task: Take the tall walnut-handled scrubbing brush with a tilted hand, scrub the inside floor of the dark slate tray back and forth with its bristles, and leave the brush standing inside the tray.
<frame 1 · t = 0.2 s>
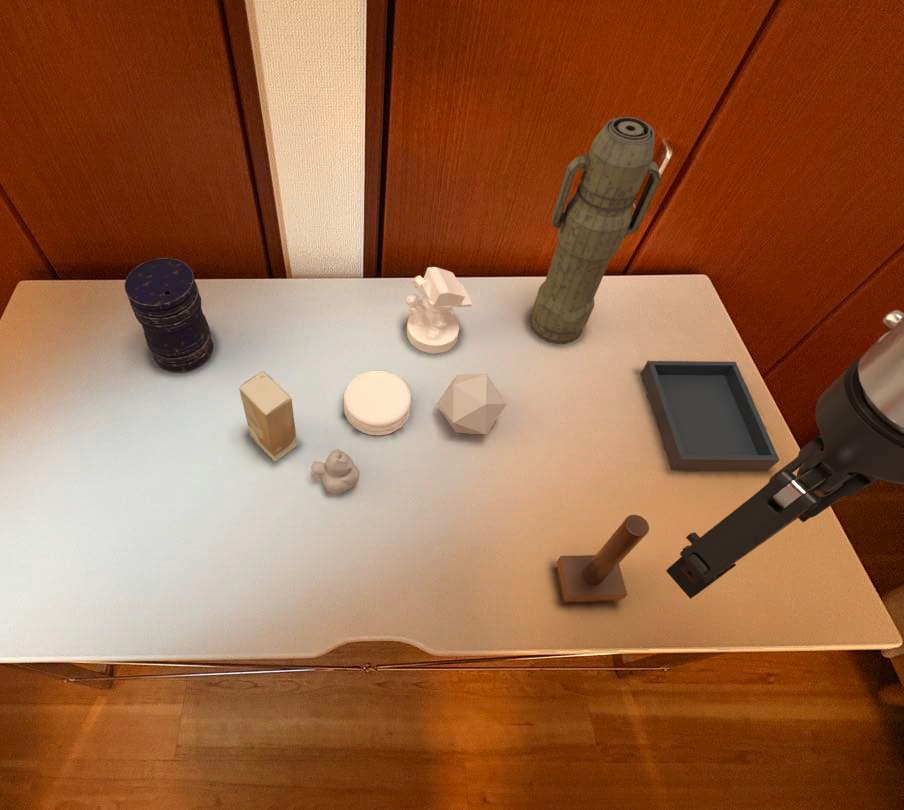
hand: (738, 544, 52), 27 cm above the table, tool pointing down, fingers open, 13 cm apart
dark blue cylinder: (183, 350, 100), on the table
thermos: (555, 325, 103), on the table
cosmetic box: (274, 441, 90), on the table
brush: (584, 584, 77), on the table
tray: (700, 419, 92), on the table
character figurine: (434, 333, 102), on the table
coaster: (377, 409, 93), on the table
rubber duck: (335, 481, 86), on the table
die: (466, 420, 92), on the table
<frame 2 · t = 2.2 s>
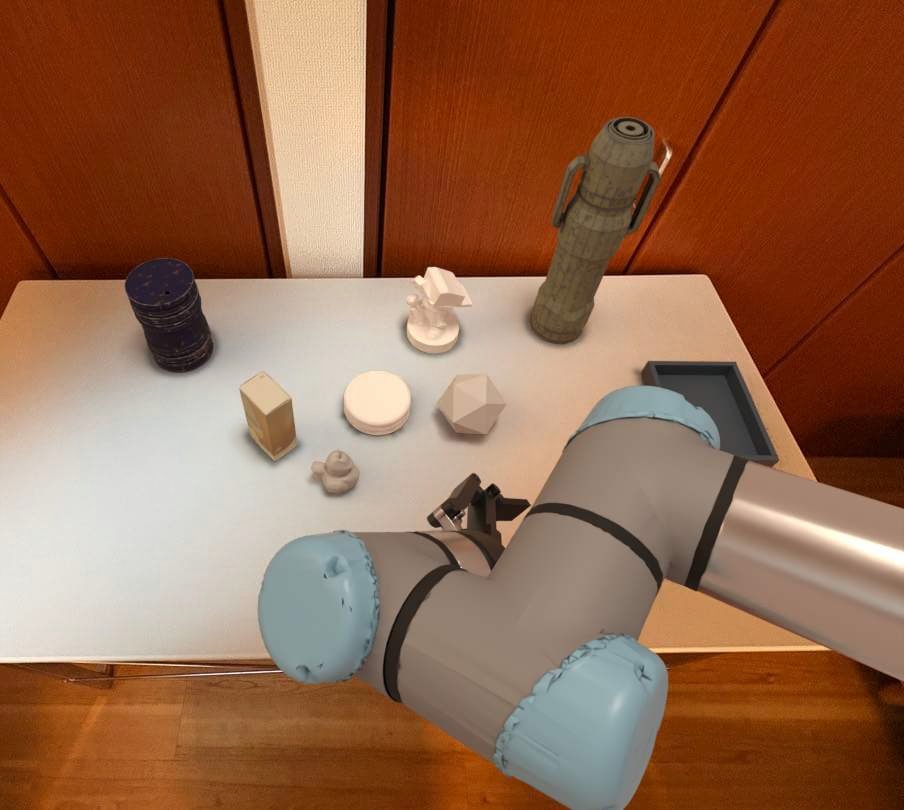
hand: (560, 567, 59), 19 cm above the table, tool tilted 45°, fingers open, 13 cm apart
nothing on the table moved.
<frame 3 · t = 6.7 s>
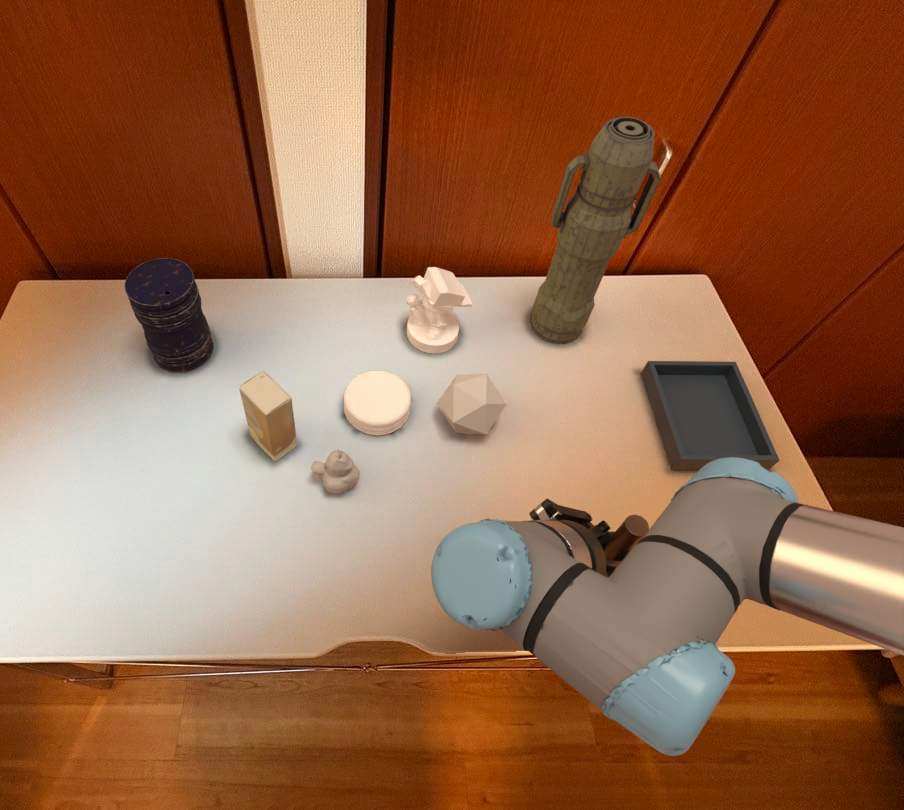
hand: (626, 550, 73), 7 cm above the table, tool tilted 45°, fingers closed on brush, 2 cm apart
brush: (584, 584, 77), on the table, touching gripper
everything else where it was.
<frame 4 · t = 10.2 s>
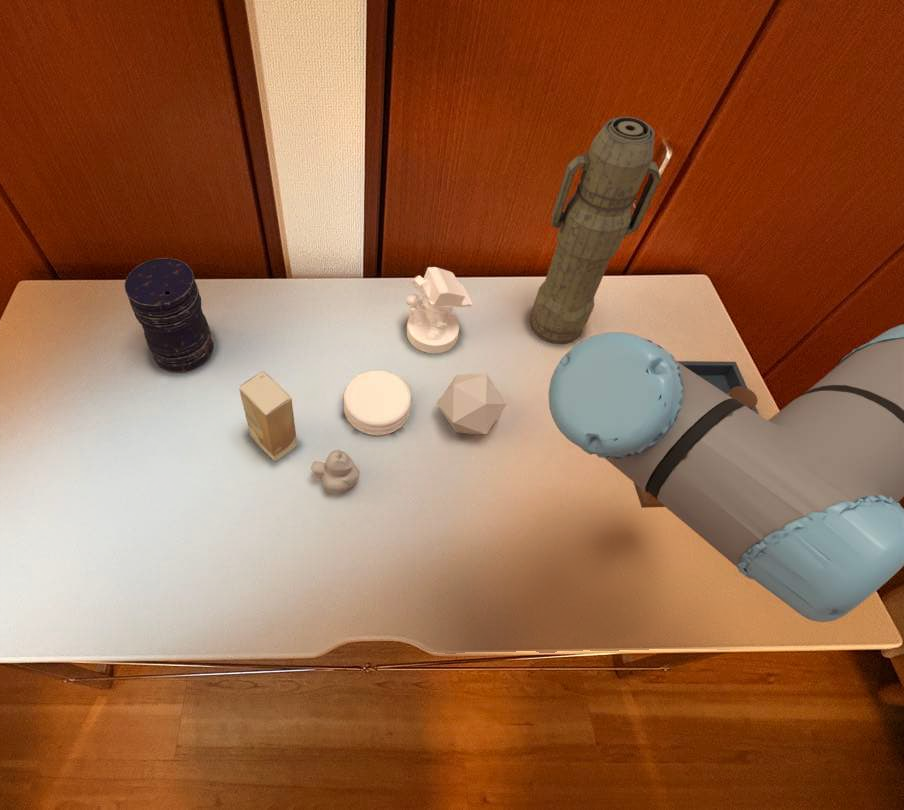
hand: (715, 445, 66), 20 cm above the table, tool tilted 45°, fingers closed on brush, 2 cm apart
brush: (663, 489, 70), point 13 cm above the table, touching gripper
everything else where it was.
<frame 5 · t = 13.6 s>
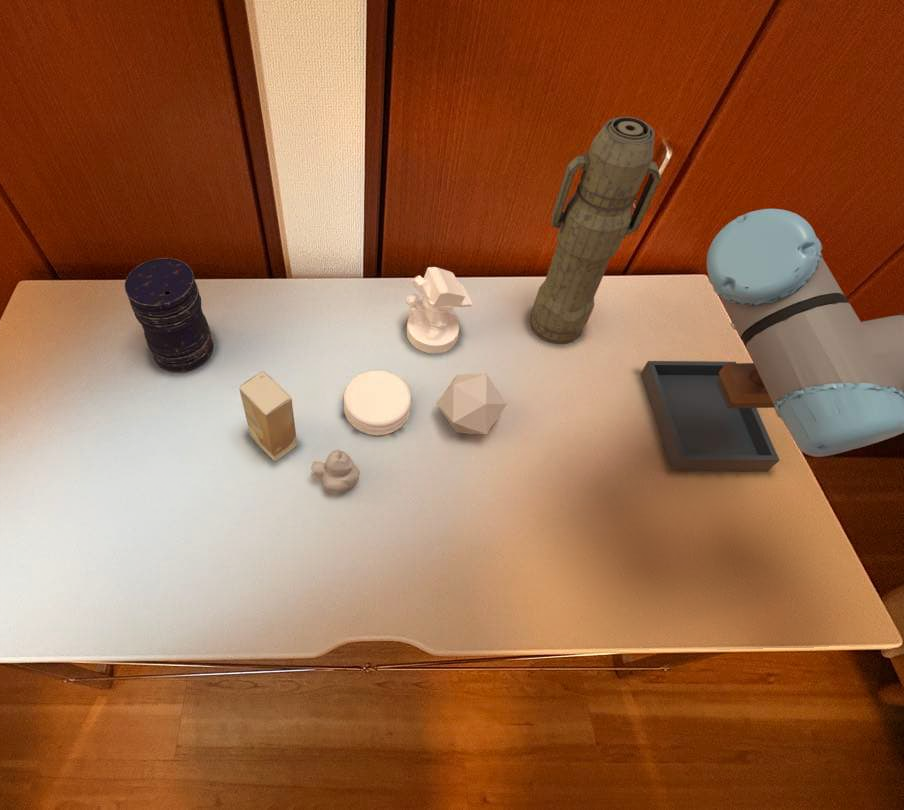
hand: (794, 351, 77), 17 cm above the table, tool tilted 45°, fingers closed on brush, 2 cm apart
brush: (745, 394, 82), point 11 cm above the table, touching gripper
everything else where it was.
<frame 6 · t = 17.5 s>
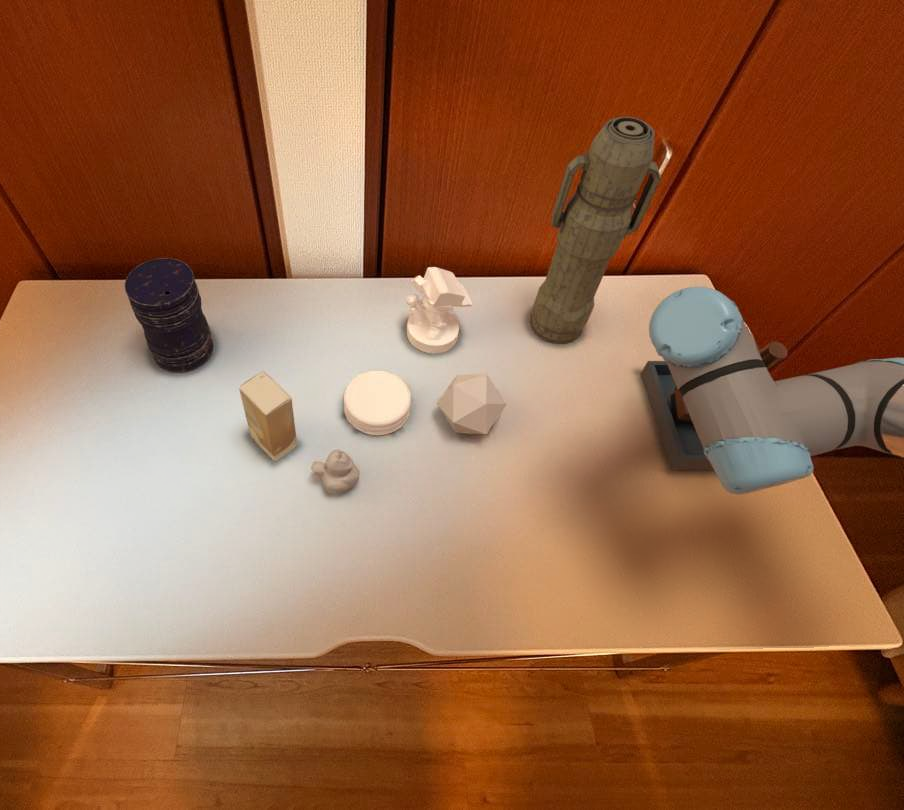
hand: (744, 384, 86), 8 cm above the table, tool tilted 45°, fingers closed on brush, 3 cm apart
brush: (692, 411, 91), point 1 cm above the table, tilted 11°, touching gripper, tray
everything else where it was.
when the fingers open (7 cm above the table, at t = 20.8 s): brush stays where it is, resting on tray.
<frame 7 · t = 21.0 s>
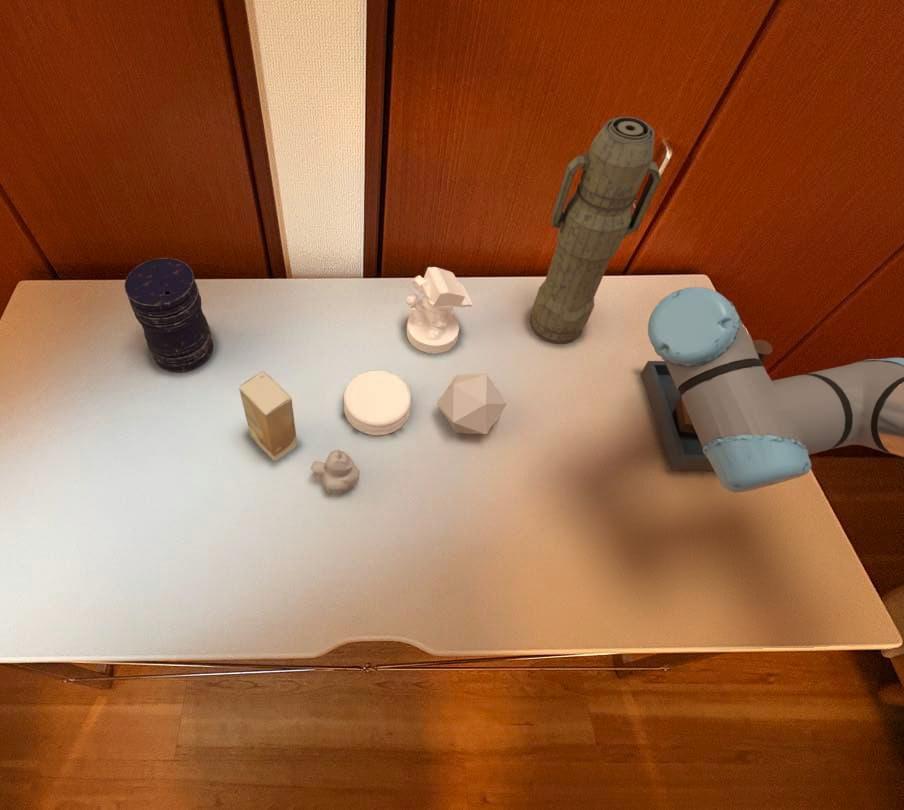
hand: (744, 387, 87), 7 cm above the table, tool tilted 45°, fingers open, 6 cm apart
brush: (697, 426, 91), point 1 cm above the table, touching tray
everything else where it was.
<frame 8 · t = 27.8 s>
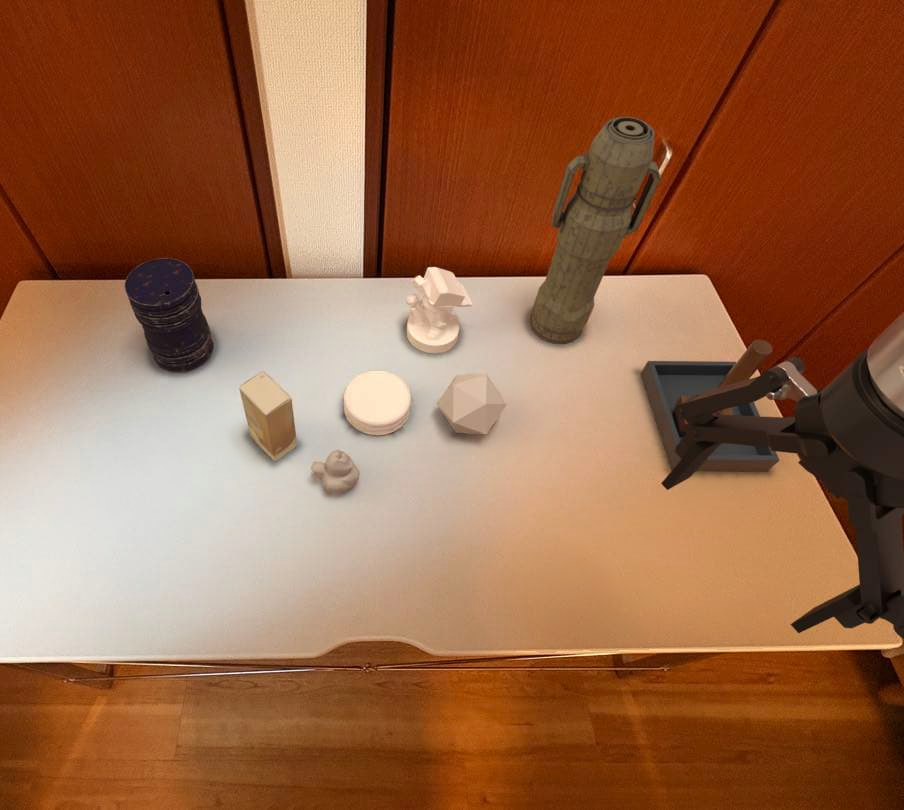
hand: (736, 545, 50), 29 cm above the table, tool pointing down, fingers open, 13 cm apart
nothing on the table moved.
at the end: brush inside the target area in the tray (2.2 cm from its centre), point 0.6 cm above the tray's base; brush tilted 0°; the gripper is holding nothing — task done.
